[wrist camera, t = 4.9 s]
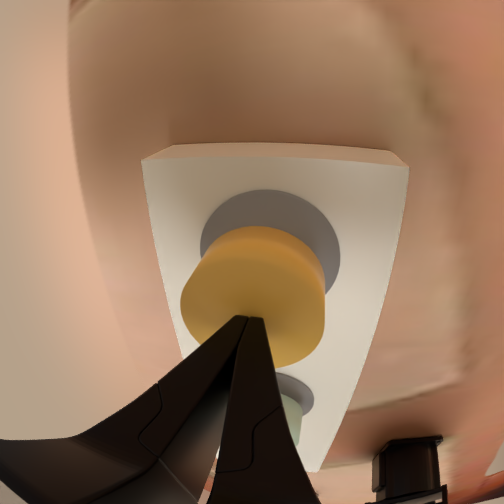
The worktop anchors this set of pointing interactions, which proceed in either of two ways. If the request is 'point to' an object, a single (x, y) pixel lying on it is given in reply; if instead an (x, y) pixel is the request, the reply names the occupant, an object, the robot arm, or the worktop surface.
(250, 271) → the button amber
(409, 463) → the robot arm
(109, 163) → the worktop surface
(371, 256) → the button panel
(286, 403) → the button sage
